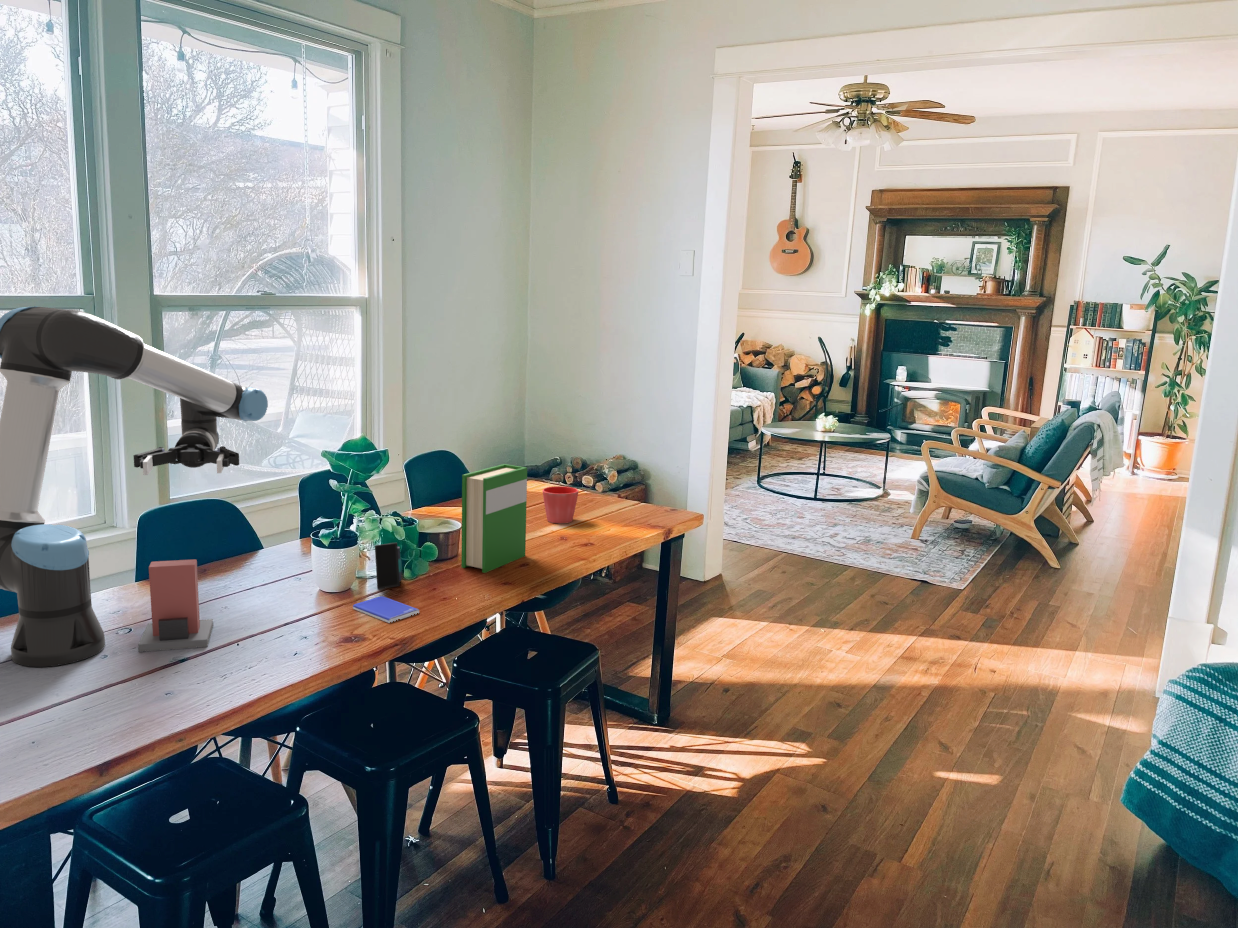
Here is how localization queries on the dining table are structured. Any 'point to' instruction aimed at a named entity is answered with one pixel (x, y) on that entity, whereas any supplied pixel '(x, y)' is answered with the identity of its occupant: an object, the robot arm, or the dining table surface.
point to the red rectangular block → (174, 592)
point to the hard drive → (385, 609)
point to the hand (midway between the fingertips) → (182, 467)
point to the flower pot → (560, 503)
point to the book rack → (175, 635)
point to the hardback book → (493, 516)
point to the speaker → (388, 565)
